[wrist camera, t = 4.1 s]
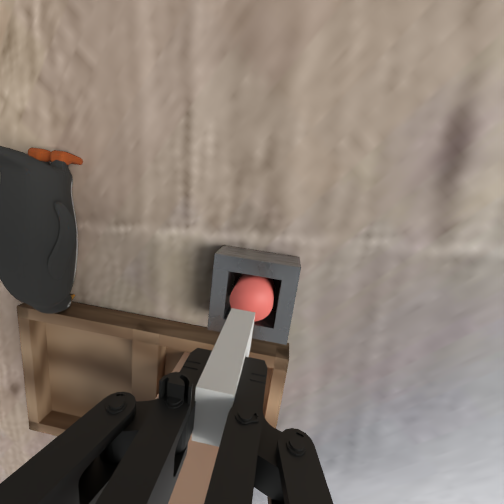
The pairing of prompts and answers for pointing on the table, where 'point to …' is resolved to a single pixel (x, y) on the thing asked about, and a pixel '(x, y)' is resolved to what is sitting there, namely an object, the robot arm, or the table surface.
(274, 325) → the button collar
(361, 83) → the table surface
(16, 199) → the figurine
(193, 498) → the tan block
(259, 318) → the stop button
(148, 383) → the wooden divided tray
